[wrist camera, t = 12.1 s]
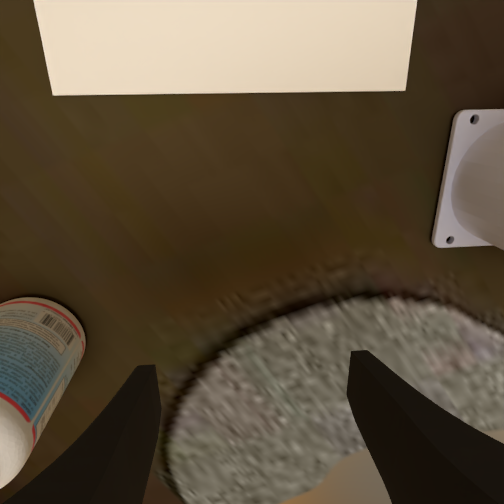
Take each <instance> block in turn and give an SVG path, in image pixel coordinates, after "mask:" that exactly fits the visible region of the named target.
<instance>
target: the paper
mask: <svg viewBox="0 0 504 504" xmlns="http://www.w3.org/2000/svg"><path fill="white" fill-rule="evenodd" d="M34 5H35V9H36V14H37V19H38V24H39V29H40V34H41V39H42V44H43V49H44V54H45V59H46V64H47V68H48V73H49V78H50V83H51V88H52V93H53V95H55V96H57V95H132V94H208V93H283V92H358V91H405V89H406V81H407V73H408V66H409V58H410V51H411V43H412V35H413V28H414V20H415V13H416V5H417V0H34Z"/></svg>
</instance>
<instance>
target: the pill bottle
mask: <svg viewBox="0 0 504 504" xmlns="http://www.w3.org/2000/svg"><path fill="white" fill-rule="evenodd" d="M85 344H86V340H85V334H84V331H83V328H82V326H81V324H80V323H79V321H78V320H77V319H76V317H75V316H74V315H73V314H72V313H71V312H69V311H68V310H67V309H66V308H64V307H63V306H61V305H59V304H57V303H55V302H53V301H50V300H47V299H42V298H34V297H26V298H17V299H13V300H9V301H7V302H4V303H2V304H0V488H2V487H3V486H5V485H6V484H7V483H9V482H10V481H11V480H12V479H13V478H14V477H15V476H16V475H17V474H18V473H19V471H20V470H21V469H22V467H23V466H24V464H25V462H26V460H27V459H28V457H29V455H30V454H31V452H32V450H33V448H34V446H35V444H36V442H37V441H38V439H39V437H40V435H41V433H42V431H43V429H44V428H45V426H46V424H47V422H48V420H49V418H50V416H51V415H52V413H53V411H54V409H55V407H56V405H57V404H58V402H59V400H60V398H61V396H62V395H63V393H64V391H65V389H66V387H67V385H68V383H69V382H70V380H71V378H72V376H73V374H74V372H75V370H76V368H77V367H78V365H79V363H80V361H81V359H82V357H83V354H84V351H85Z"/></svg>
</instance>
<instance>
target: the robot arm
mask: <svg viewBox="0 0 504 504" xmlns="http://www.w3.org/2000/svg"><path fill="white" fill-rule="evenodd" d="M473 115H474V122H473V123H472V124H471V123H470V118H471V117H472V116H473ZM448 237H450V240H449V241H447V242H446V239H447V238H448ZM432 243H433V245H435V246H436V247H439V248H447V247H468V246H489V245H494V246H496V247H498V248H500V249H502V250H504V109H483V110H461V111H459V112H458V113H457V114H456V115H455V116H454V119H453V124H452V129H451V135H450V140H449V146H448V151H447V157H446V162H445V168H444V173H443V179H442V184H441V190H440V195H439V201H438V206H437V212H436V217H435V223H434V228H433V234H432ZM347 397H348V401H349V404H350V407H351V410H352V413H353V416H354V419H355V422H356V424H357V426H358V428H359V430H360V433H361V435H362V437H363V439H364V441H365V443H366V446H367V448H368V450H369V452H370V454H371V456H372V458H373V460H374V462H375V465H376V467H377V469H378V471H379V473H380V475H381V477H382V480H383V482H384V484H385V487H386V489H387V491H388V494H389V496H390V499H391V502H392V504H504V444H503V443H501V442H499V441H497V440H495V439H493V438H491V437H490V436H488V435H486V434H484V433H482V432H480V431H478V430H477V429H475V428H473V427H471V426H470V425H468V424H466V423H465V422H463V421H461V420H460V419H458V418H457V417H455V416H453V415H452V414H450V413H449V412H447V411H445V410H444V409H442V408H441V407H439V406H438V405H437V404H435V403H434V402H432V401H431V400H429V399H428V398H427V397H425V396H424V395H422V394H421V393H420V392H418V391H417V390H416V389H414V388H413V387H412V386H411V385H409V384H408V383H407V382H405V381H404V380H403V379H402V378H400V377H399V376H398V375H397V374H395V373H394V372H393V371H392V370H391V369H389V368H388V367H387V366H386V365H385V364H383V363H382V362H381V361H380V360H379V359H377V358H376V357H375V356H374V355H373V354H371V353H370V352H369V351H367V350H362V351H351V357H350V366H349V376H348V385H347ZM160 417H161V402H160V395H159V388H158V381H157V374H156V367H155V365H141V366H137V367H136V368H135V369H134V371H133V372H132V373H131V375H130V376H129V378H128V379H127V380H126V382H125V383H124V384H123V386H122V387H121V388H120V390H119V391H118V392H117V394H116V395H115V396H114V397H113V399H112V400H111V401H110V402H109V403H108V405H107V406H106V407H105V408H104V410H103V411H102V412H101V413H100V414H99V416H98V417H97V418H96V419H95V420H94V421H93V422H92V423H91V425H90V426H89V427H88V428H87V429H86V430H85V431H84V432H83V433H82V434H81V436H80V437H79V438H78V439H77V440H76V441H75V442H74V443H73V444H72V445H71V446H70V447H69V448H68V449H67V450H66V451H65V452H64V453H63V454H62V455H61V456H59V457H58V458H57V459H56V460H55V461H54V462H53V463H52V464H51V465H49V466H48V467H47V468H46V469H45V470H44V471H42V472H41V473H40V474H39V475H38V476H37V477H35V478H34V479H33V480H32V481H31V482H30V483H28V484H27V485H26V486H25V487H23V488H22V489H21V490H20V491H18V492H17V493H16V494H14V495H13V496H12V497H11V498H9V499H8V500H6V501H5V502H4V503H2V504H142V502H143V497H144V493H145V489H146V485H147V481H148V477H149V473H150V468H151V464H152V460H153V456H154V452H155V448H156V443H157V439H158V433H159V425H160Z"/></svg>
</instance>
